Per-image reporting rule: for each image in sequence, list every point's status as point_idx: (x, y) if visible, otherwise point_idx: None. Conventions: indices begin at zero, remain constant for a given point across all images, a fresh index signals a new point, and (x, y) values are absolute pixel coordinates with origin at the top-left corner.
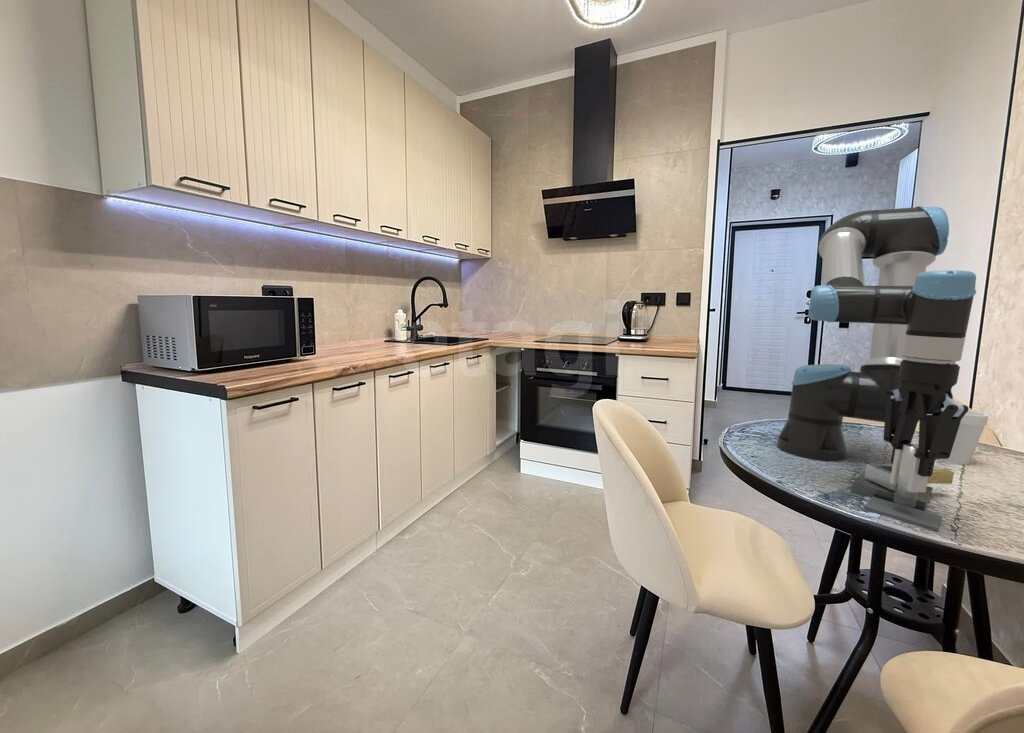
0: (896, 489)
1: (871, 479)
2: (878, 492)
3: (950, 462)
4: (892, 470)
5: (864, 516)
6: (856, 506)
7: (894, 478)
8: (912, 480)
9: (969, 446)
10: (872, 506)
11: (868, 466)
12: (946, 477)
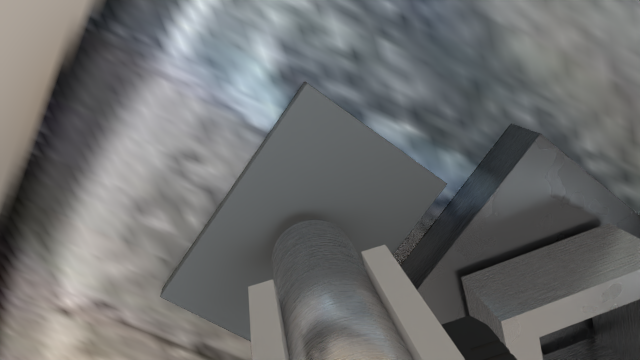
0: (328, 248)
1: (576, 239)
2: (463, 217)
3: None
4: (407, 286)
5: (211, 40)
6: (331, 61)
7: (371, 270)
8: (250, 330)
9: None
10: (317, 124)
11: None
12: None
